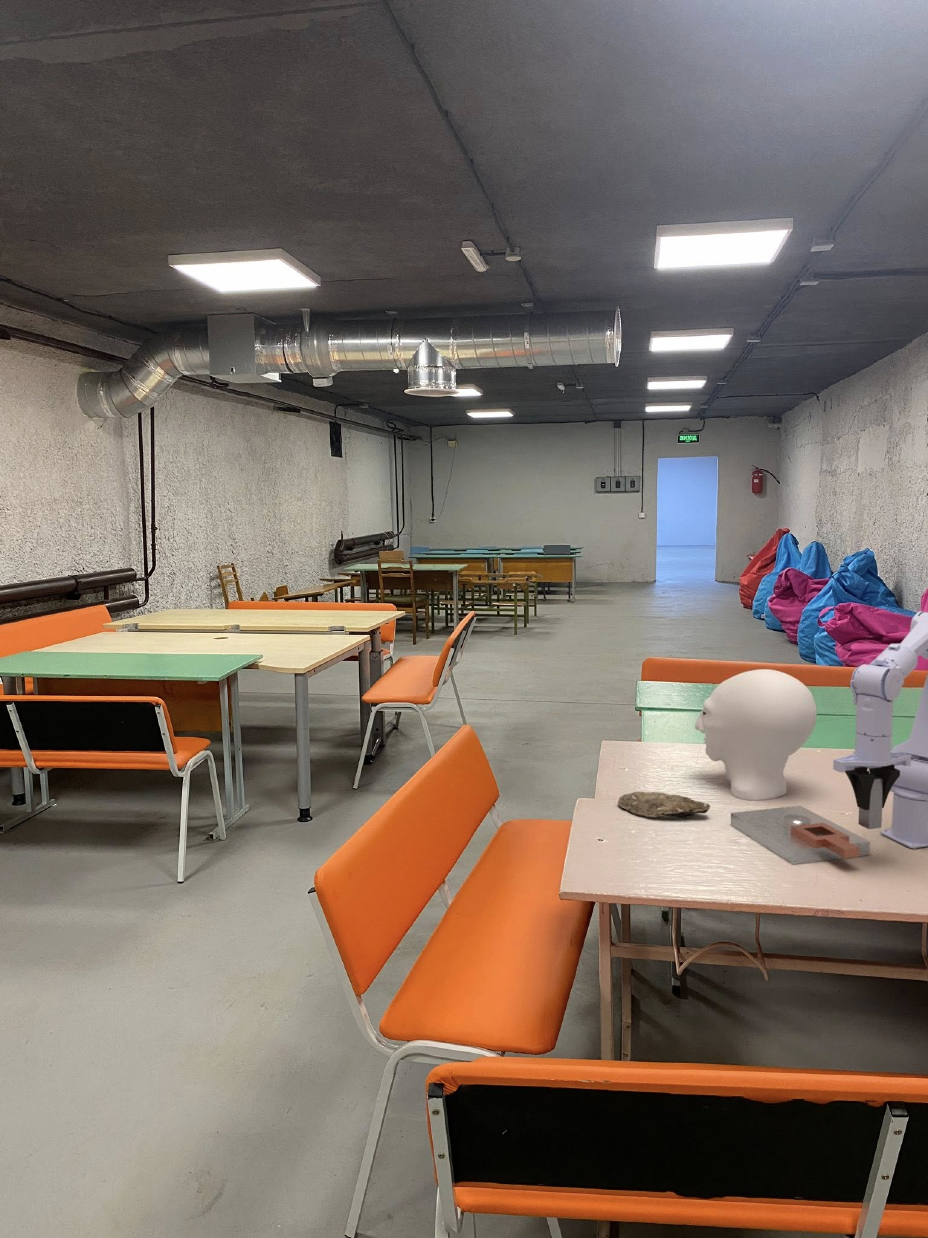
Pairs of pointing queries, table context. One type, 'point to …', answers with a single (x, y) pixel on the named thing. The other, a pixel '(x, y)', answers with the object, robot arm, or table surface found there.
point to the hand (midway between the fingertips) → (870, 807)
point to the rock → (661, 805)
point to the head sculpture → (757, 729)
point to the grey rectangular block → (873, 807)
